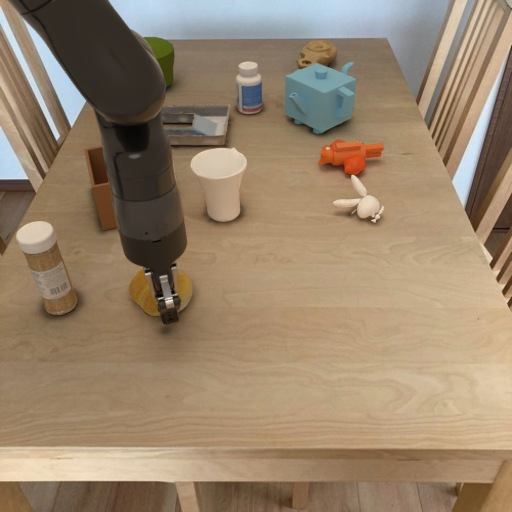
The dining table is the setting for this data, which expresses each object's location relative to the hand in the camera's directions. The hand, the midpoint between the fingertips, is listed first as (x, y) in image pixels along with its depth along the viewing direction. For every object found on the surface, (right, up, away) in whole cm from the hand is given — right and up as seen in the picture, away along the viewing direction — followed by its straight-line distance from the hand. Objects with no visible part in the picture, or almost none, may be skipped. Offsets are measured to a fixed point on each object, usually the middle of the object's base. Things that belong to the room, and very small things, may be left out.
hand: (169, 319), depth 74 cm
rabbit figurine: (+28, +16, +19) cm, 37 cm away
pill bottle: (+10, +40, +47) cm, 63 cm away
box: (-10, +18, +22) cm, 30 cm away
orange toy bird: (+29, +25, +29) cm, 48 cm away
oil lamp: (+26, +54, +62) cm, 87 cm away
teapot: (+25, +37, +42) cm, 61 cm away
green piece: (-13, +48, +56) cm, 75 cm away
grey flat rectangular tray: (-6, +34, +40) cm, 53 cm away
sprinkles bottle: (-16, +1, +4) cm, 17 cm away
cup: (+6, +16, +20) cm, 26 cm away
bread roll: (-2, +3, +5) cm, 6 cm away
